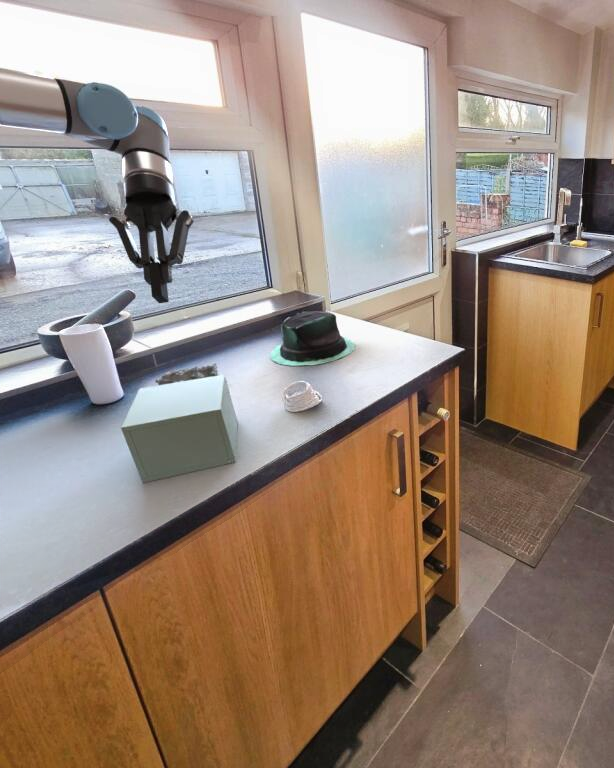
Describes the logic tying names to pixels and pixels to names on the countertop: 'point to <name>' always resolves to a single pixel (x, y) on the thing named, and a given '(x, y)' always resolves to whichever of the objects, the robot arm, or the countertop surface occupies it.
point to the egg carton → (188, 374)
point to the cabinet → (181, 428)
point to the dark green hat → (311, 340)
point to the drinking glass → (93, 361)
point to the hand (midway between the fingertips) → (160, 299)
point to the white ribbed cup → (300, 397)
